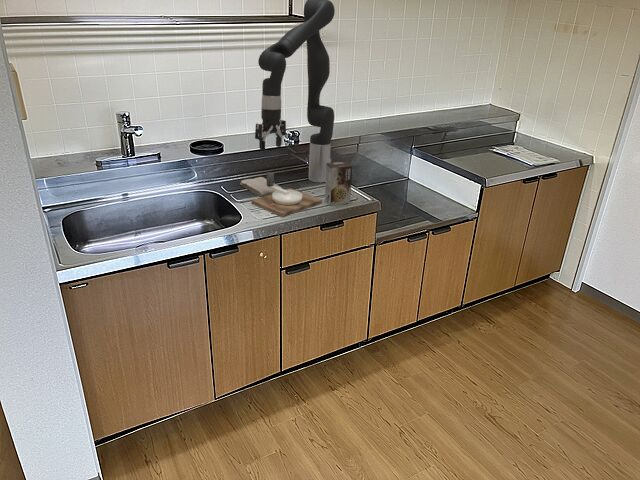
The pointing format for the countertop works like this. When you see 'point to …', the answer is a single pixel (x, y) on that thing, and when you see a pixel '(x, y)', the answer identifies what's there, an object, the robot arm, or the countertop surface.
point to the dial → (282, 193)
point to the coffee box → (338, 183)
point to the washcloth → (258, 186)
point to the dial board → (286, 210)
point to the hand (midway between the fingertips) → (270, 148)
